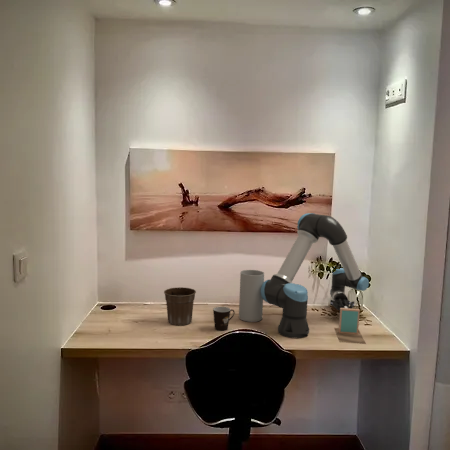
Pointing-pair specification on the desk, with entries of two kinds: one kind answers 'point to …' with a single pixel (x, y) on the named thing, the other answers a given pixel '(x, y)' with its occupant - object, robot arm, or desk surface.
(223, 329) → the coffee mug
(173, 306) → the plant pot
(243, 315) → the cylinder vase
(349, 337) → the board
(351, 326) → the picture frame
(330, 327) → the desk surface
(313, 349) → the desk surface
